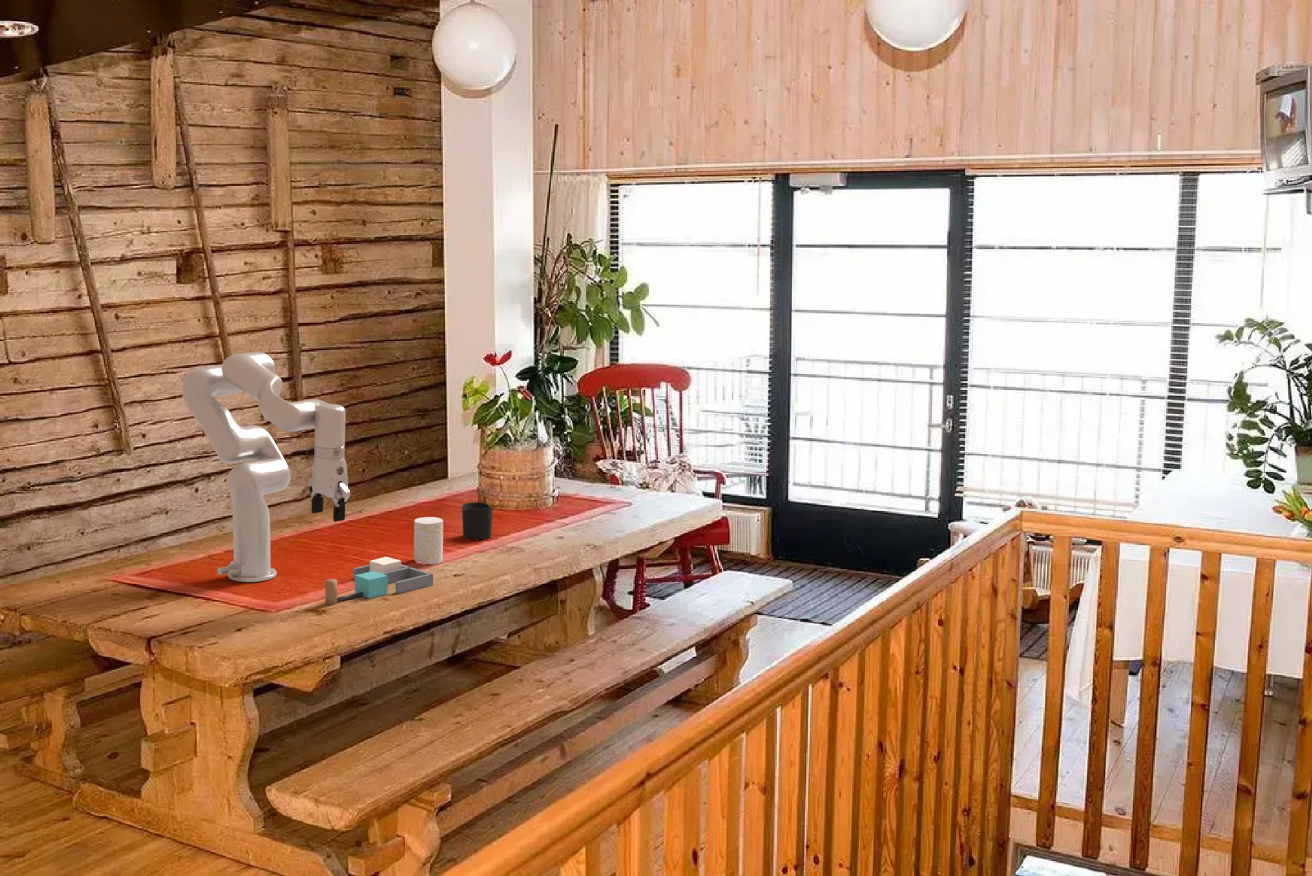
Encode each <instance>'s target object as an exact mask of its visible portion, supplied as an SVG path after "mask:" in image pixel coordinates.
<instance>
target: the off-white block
mask: <svg viewBox="0 0 1312 876" xmlns="http://www.w3.org/2000/svg"><path fill="white" fill-rule="evenodd" d="M401 564H402V560H400V559H397V558H396V559H395V558H392V557H388V556H384V557H380V558H376V559H373V560H369V565H370V572H372V571H375V572H378V573H385V572H389V571H393V570H398V569H401Z"/></svg>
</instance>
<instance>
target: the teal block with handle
mask: <svg viewBox="0 0 1312 876" xmlns="http://www.w3.org/2000/svg"><path fill="white" fill-rule="evenodd" d="M388 585H389V584H388V576H387V575H384V574H381V573H378V572H375V571H372V572H367V573H363V574H358V575H355V579H354V593H351V594H348V595H343V596H338V579H335V578H328V579H325V580H324V590H325V591H324V592H325V593H324V604H325V605H327V606H333V605H337V604H338V602H342V601H346V600H350V599H353V598H358V597H363V598H367V599H373V598H377V597H380V596H385V595H388V591H389V590H388V589H389V588H388V587H389V586H388Z"/></svg>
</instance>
